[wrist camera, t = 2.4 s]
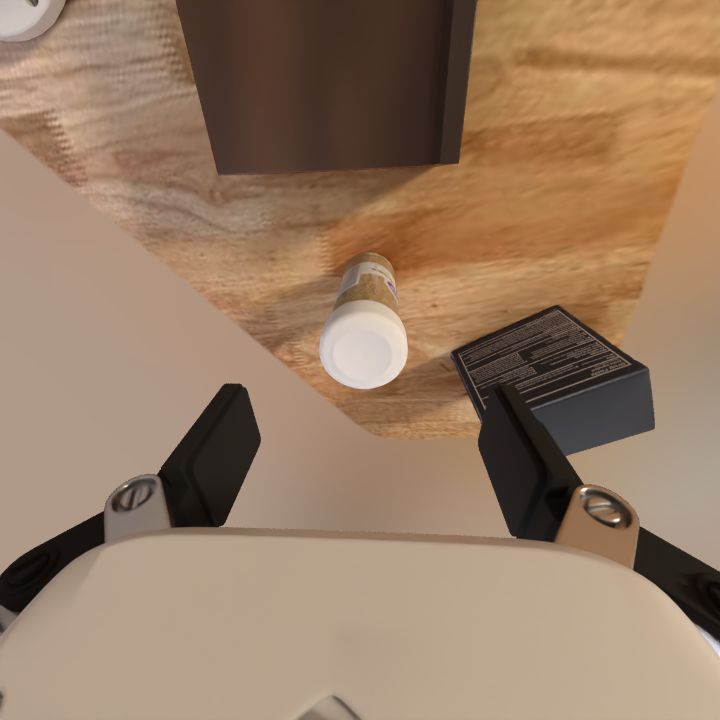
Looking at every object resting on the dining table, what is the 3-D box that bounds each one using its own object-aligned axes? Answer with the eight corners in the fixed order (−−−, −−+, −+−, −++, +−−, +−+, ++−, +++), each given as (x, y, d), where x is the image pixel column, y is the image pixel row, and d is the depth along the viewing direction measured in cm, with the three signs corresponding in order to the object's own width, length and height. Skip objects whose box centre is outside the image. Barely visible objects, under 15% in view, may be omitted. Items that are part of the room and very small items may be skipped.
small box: (470, 396, 33) (506, 479, 24) (448, 351, 30) (478, 426, 21) (574, 356, 29) (660, 434, 21) (560, 301, 27) (652, 365, 18)
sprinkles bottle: (405, 278, 26) (427, 358, 15) (367, 311, 28) (361, 406, 17) (369, 238, 25) (363, 294, 13) (332, 276, 26) (298, 354, 15)
